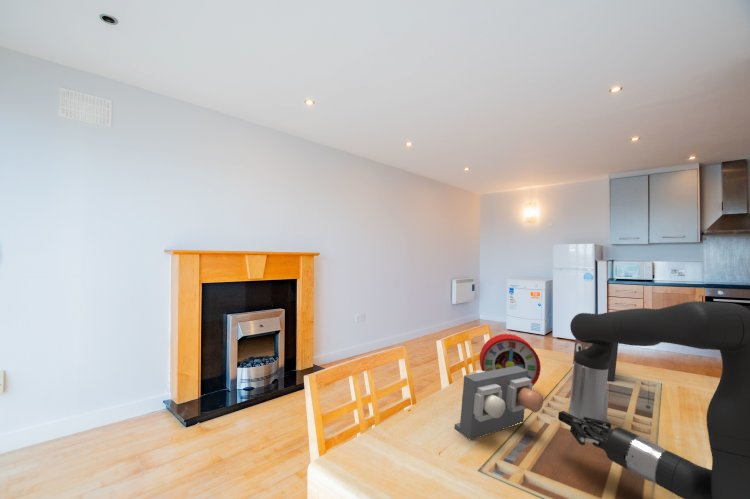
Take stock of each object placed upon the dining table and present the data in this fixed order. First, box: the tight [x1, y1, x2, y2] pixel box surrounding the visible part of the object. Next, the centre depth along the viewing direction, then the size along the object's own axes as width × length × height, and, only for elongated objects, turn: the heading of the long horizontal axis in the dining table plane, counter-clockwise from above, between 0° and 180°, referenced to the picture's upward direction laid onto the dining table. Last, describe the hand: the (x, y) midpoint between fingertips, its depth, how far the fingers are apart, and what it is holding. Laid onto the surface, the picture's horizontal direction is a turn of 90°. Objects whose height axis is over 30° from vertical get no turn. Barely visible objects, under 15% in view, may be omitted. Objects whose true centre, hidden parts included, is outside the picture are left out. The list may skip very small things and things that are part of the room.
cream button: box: [483, 394, 505, 418], centre depth 92 cm, size 4×5×5 cm
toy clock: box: [479, 333, 542, 387], centre depth 125 cm, size 20×6×20 cm, turn 80°
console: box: [454, 366, 534, 441], centre depth 99 cm, size 22×8×16 cm, turn 120°
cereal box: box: [572, 337, 619, 382], centre depth 149 cm, size 17×5×24 cm, turn 10°
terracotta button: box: [517, 388, 544, 414], centre depth 96 cm, size 4×5×5 cm
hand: (560, 415), depth 89 cm, fingers closed
